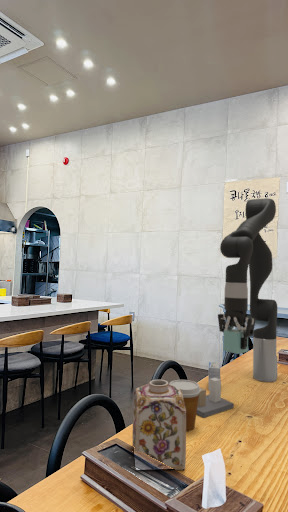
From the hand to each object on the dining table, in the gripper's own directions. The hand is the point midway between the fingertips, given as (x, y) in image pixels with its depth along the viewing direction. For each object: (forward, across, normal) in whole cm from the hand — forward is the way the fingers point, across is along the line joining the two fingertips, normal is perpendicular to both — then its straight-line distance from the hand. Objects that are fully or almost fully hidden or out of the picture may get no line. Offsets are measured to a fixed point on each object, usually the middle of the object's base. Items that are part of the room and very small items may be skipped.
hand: (235, 347), depth 114 cm
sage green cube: (+1, 0, 0) cm, 1 cm away
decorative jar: (+20, -8, +40) cm, 45 cm away
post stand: (+20, +5, +7) cm, 22 cm away
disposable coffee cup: (+20, 0, +24) cm, 31 cm away
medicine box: (+20, +17, -9) cm, 28 cm away
